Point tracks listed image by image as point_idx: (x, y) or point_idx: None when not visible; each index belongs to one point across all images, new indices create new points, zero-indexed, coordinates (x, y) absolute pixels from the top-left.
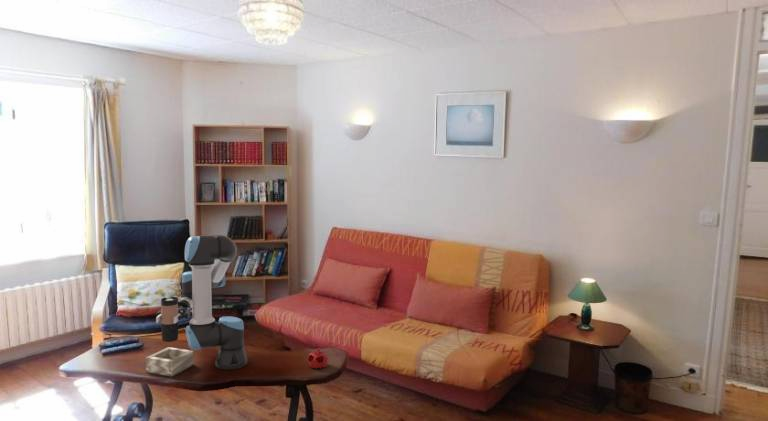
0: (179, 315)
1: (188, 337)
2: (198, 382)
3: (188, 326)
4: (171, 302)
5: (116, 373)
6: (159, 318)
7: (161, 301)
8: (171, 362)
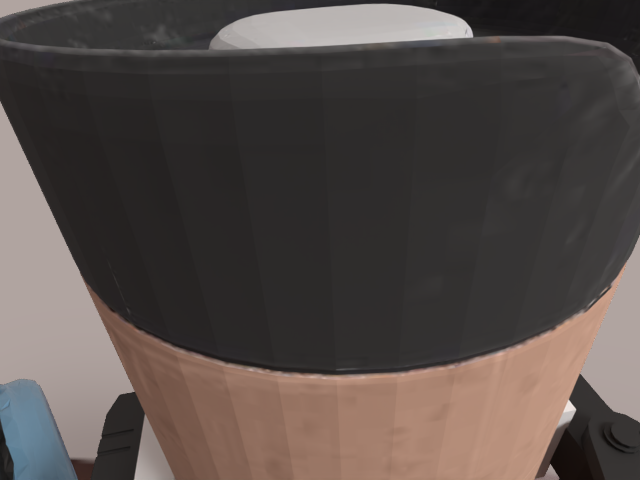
0: (147, 470)
1: (74, 474)
2: (88, 472)
3: (16, 410)
4: (192, 39)
5: None
6: None
7: (465, 12)
8: None
